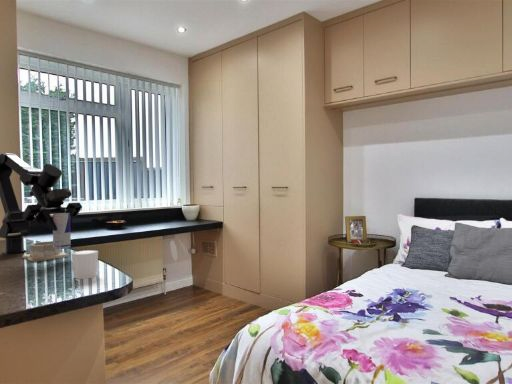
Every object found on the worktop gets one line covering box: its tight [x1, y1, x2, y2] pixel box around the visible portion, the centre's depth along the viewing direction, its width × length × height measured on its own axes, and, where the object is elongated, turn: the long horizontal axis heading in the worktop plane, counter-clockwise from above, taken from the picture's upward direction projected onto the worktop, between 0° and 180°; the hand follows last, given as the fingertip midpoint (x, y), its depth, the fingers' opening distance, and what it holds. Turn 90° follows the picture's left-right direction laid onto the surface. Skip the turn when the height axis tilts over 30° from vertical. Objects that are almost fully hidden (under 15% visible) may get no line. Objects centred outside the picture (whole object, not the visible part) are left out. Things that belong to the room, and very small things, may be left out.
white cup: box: [71, 249, 99, 280], centre depth 101 cm, size 7×7×7 cm
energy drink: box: [52, 213, 72, 250], centre depth 123 cm, size 5×5×12 cm
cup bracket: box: [22, 241, 69, 263], centre depth 128 cm, size 11×11×5 cm
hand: (64, 229), depth 123 cm, fingers closed on energy drink, 5 cm apart
